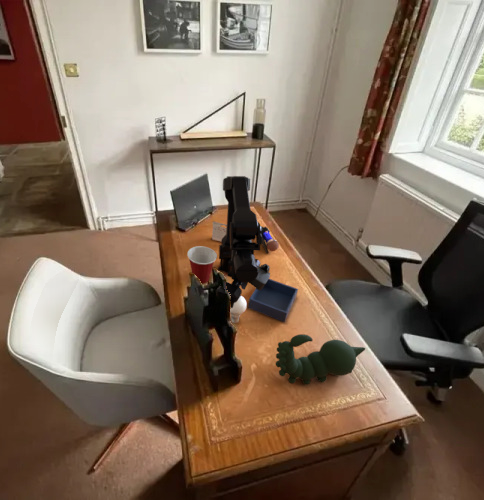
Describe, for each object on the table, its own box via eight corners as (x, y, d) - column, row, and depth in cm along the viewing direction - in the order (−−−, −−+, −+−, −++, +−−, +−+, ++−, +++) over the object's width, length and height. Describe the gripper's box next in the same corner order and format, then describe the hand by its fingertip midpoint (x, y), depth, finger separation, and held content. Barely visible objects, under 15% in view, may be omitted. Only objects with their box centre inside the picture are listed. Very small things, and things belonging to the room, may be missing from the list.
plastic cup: (218, 286, 118) (220, 261, 111) (189, 290, 116) (189, 264, 109) (212, 268, 126) (213, 243, 119) (186, 271, 124) (185, 246, 117)
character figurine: (267, 236, 147) (277, 256, 135) (252, 236, 145) (261, 256, 134) (270, 222, 142) (282, 241, 131) (255, 222, 141) (265, 241, 129)
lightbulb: (224, 314, 107) (226, 290, 100) (242, 313, 107) (245, 290, 101) (226, 329, 102) (228, 305, 95) (245, 328, 102) (249, 304, 96)
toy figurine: (281, 398, 85) (367, 380, 88) (287, 356, 74) (385, 337, 77) (270, 367, 93) (350, 352, 96) (274, 325, 82) (364, 309, 84)
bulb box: (248, 307, 110) (249, 298, 107) (261, 285, 119) (263, 276, 117) (284, 322, 105) (286, 313, 102) (295, 297, 114) (298, 288, 112)
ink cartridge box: (213, 236, 145) (214, 218, 139) (236, 242, 141) (238, 224, 136) (211, 239, 143) (212, 221, 137) (234, 245, 139) (236, 227, 134)
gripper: (255, 287, 79) (249, 328, 89) (279, 249, 93) (272, 288, 102) (216, 273, 83) (214, 313, 93) (244, 238, 97) (240, 277, 106)
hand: (237, 297), depth 98 cm, fingers open, 9 cm apart
